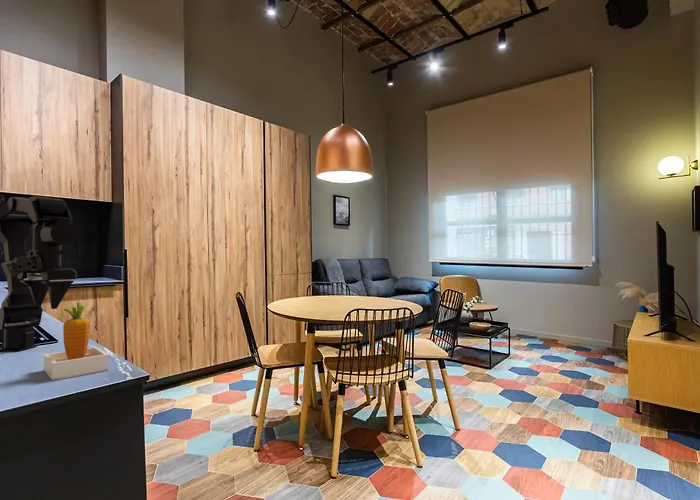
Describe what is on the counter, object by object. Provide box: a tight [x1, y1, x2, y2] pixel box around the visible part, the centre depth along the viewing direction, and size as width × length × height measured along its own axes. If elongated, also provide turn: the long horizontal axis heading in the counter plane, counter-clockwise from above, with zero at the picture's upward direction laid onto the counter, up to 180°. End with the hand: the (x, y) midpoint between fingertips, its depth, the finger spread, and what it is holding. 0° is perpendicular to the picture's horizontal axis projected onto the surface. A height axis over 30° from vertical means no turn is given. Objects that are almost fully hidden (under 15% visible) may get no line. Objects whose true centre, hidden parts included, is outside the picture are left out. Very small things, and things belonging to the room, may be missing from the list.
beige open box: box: [43, 346, 110, 381], centre depth 86 cm, size 10×10×4 cm
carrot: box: [62, 302, 91, 360], centre depth 87 cm, size 5×5×15 cm
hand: (45, 307), depth 96 cm, fingers open, 9 cm apart
